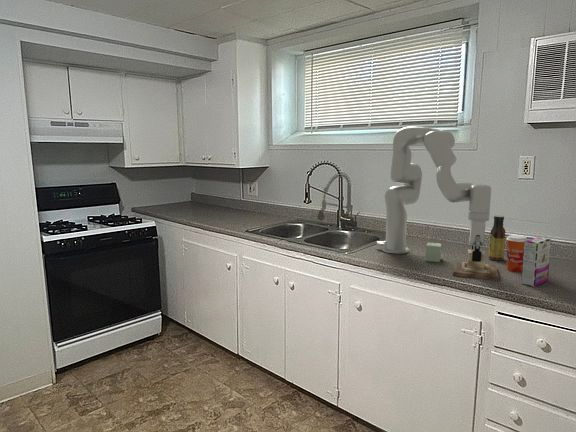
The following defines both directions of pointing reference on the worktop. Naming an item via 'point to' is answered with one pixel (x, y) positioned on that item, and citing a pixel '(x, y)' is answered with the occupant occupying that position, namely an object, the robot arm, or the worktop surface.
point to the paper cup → (515, 252)
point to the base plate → (476, 271)
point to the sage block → (433, 252)
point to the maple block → (475, 264)
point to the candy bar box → (536, 261)
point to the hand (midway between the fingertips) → (476, 258)
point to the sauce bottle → (497, 239)
